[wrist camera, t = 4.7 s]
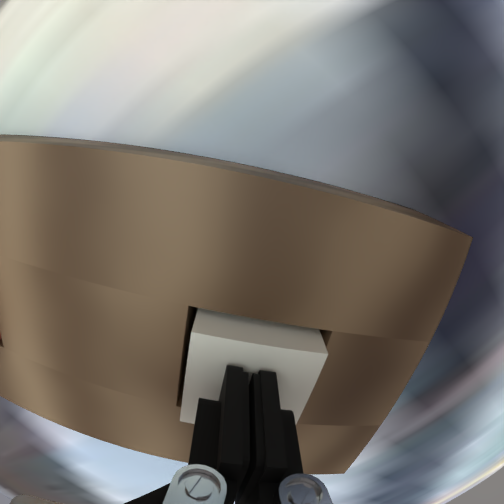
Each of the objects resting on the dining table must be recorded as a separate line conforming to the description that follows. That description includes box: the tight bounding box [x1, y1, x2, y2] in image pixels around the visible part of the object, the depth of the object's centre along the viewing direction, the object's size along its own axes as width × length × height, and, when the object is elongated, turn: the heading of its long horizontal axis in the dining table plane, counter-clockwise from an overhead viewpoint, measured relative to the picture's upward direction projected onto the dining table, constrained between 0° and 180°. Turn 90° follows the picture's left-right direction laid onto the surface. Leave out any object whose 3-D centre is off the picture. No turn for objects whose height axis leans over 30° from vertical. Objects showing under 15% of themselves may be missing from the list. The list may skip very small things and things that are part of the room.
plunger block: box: [0, 135, 473, 474], centre depth 13 cm, size 28×14×5 cm, turn 78°
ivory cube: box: [180, 308, 328, 424], centre depth 12 cm, size 4×4×4 cm
